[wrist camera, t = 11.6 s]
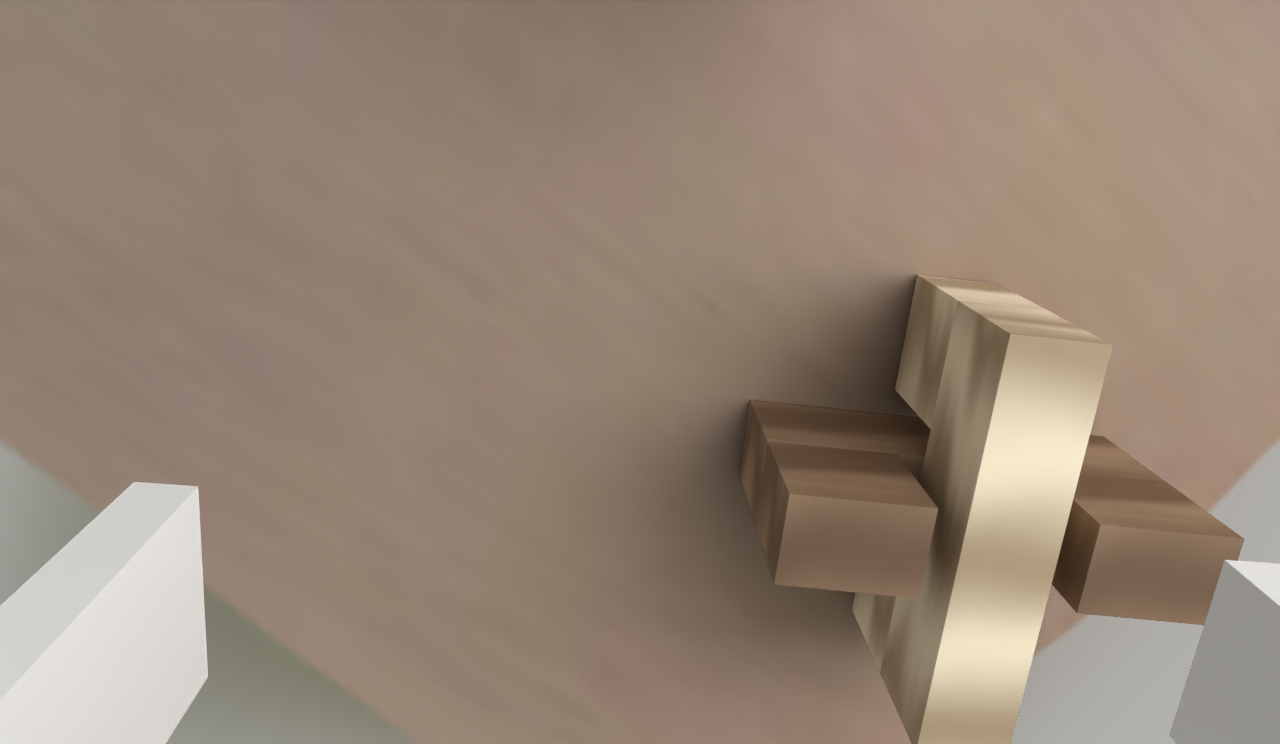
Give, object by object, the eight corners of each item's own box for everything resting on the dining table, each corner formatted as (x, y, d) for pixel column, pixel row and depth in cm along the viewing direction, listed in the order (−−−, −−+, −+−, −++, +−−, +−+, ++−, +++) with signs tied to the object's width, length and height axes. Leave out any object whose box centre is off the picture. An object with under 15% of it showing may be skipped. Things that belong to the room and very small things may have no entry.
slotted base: (750, 399, 38) (789, 494, 29) (1103, 436, 39) (1244, 539, 30) (739, 472, 39) (773, 584, 30) (1085, 506, 39) (1216, 626, 31)
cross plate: (917, 274, 37) (1010, 333, 28) (996, 283, 37) (1112, 344, 28) (851, 609, 40) (915, 752, 32) (923, 616, 41) (1006, 760, 32)
